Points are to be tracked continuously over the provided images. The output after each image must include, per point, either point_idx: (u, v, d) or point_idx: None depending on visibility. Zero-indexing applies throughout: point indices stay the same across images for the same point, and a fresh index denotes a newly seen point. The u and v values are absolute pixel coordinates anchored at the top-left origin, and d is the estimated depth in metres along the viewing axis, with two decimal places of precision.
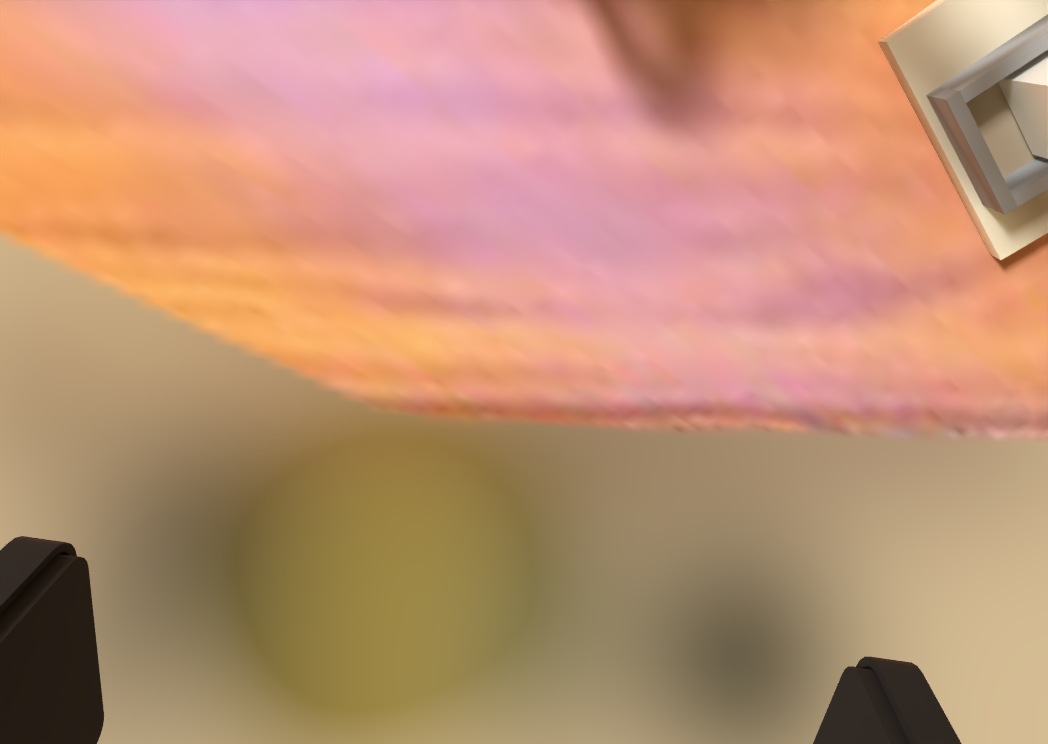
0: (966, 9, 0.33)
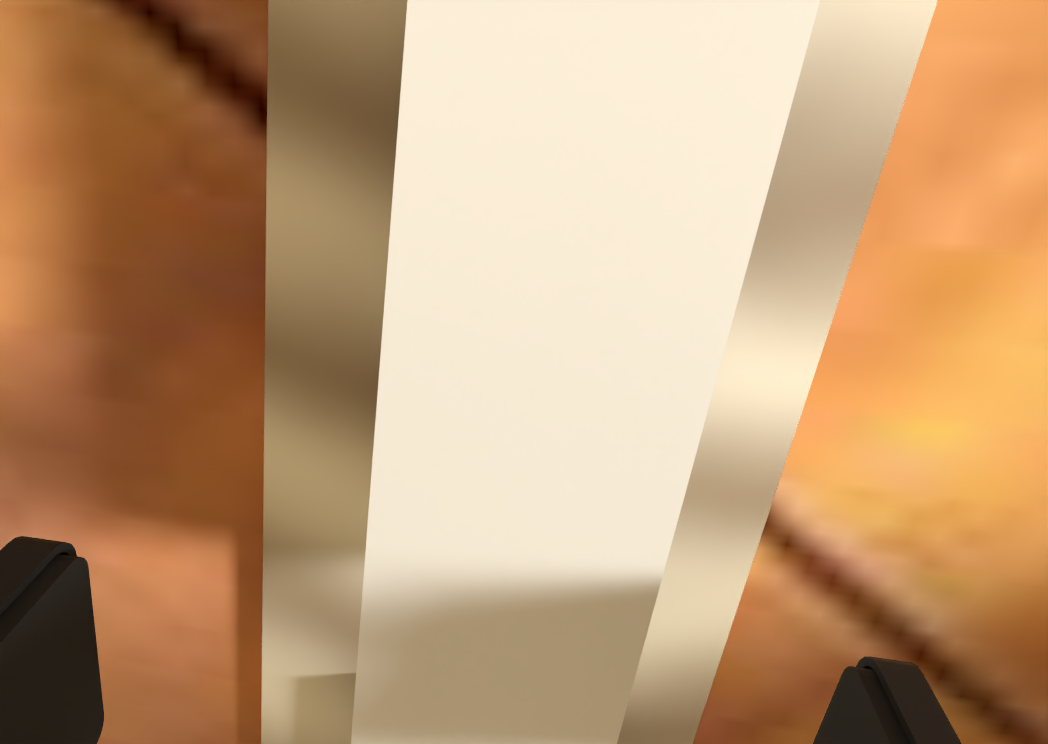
0: None
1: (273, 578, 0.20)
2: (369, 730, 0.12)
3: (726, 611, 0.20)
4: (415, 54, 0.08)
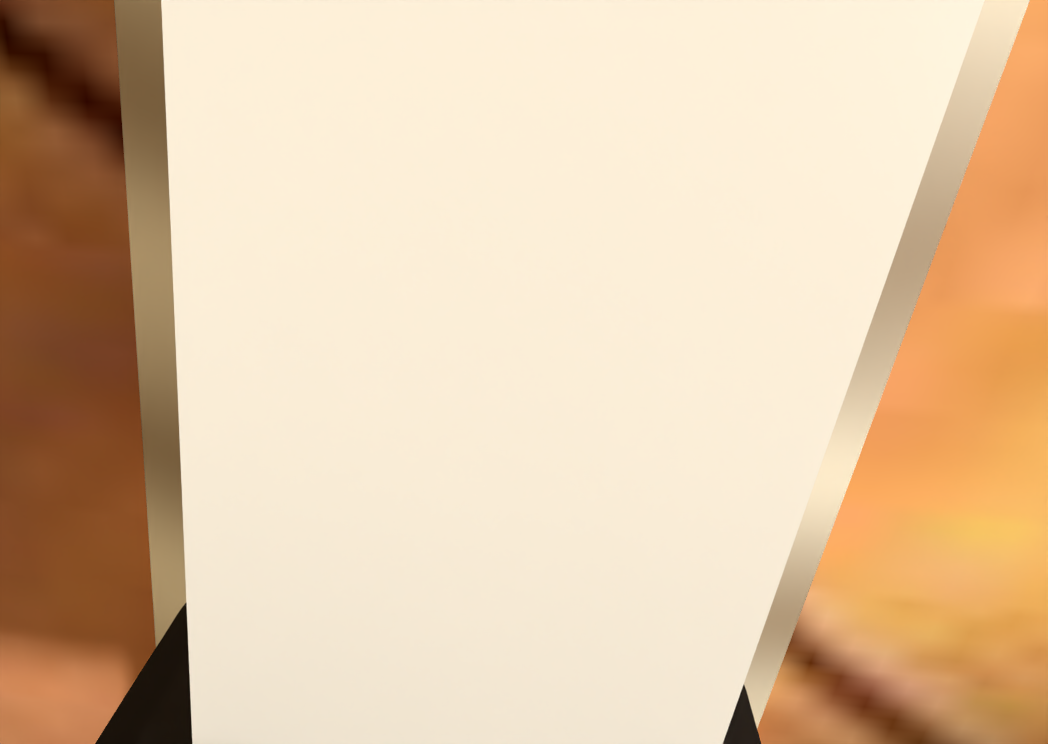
0: None
1: None
2: None
3: None
4: (188, 76, 0.04)
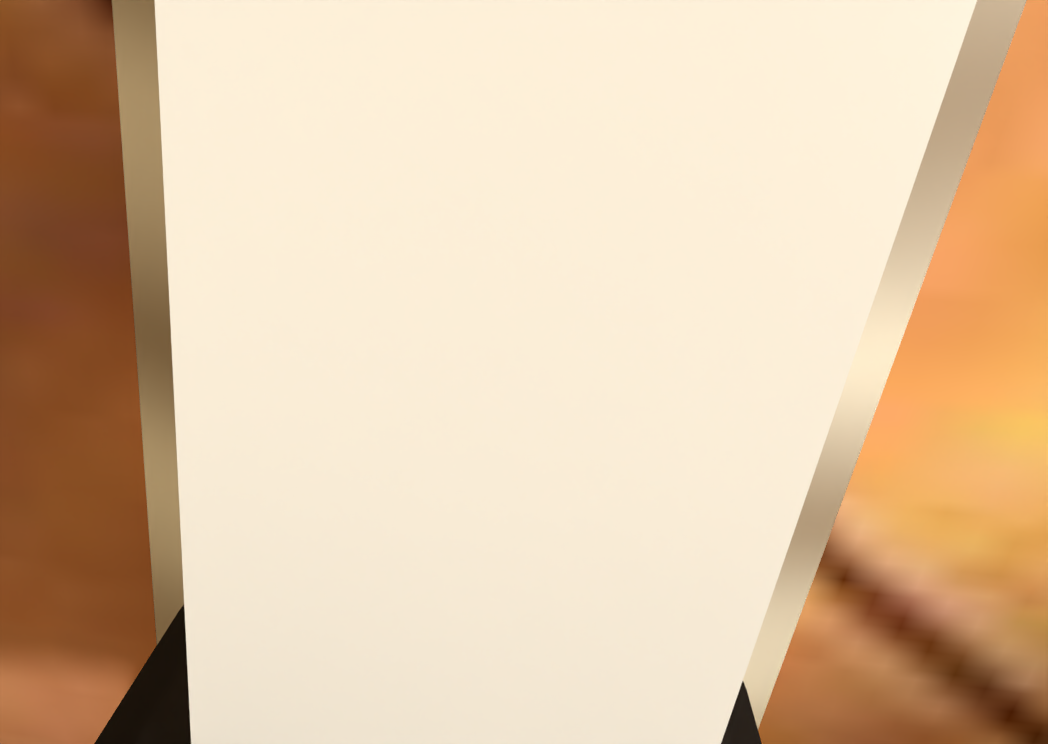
0: None
1: None
2: None
3: (767, 669, 0.15)
4: (182, 76, 0.04)
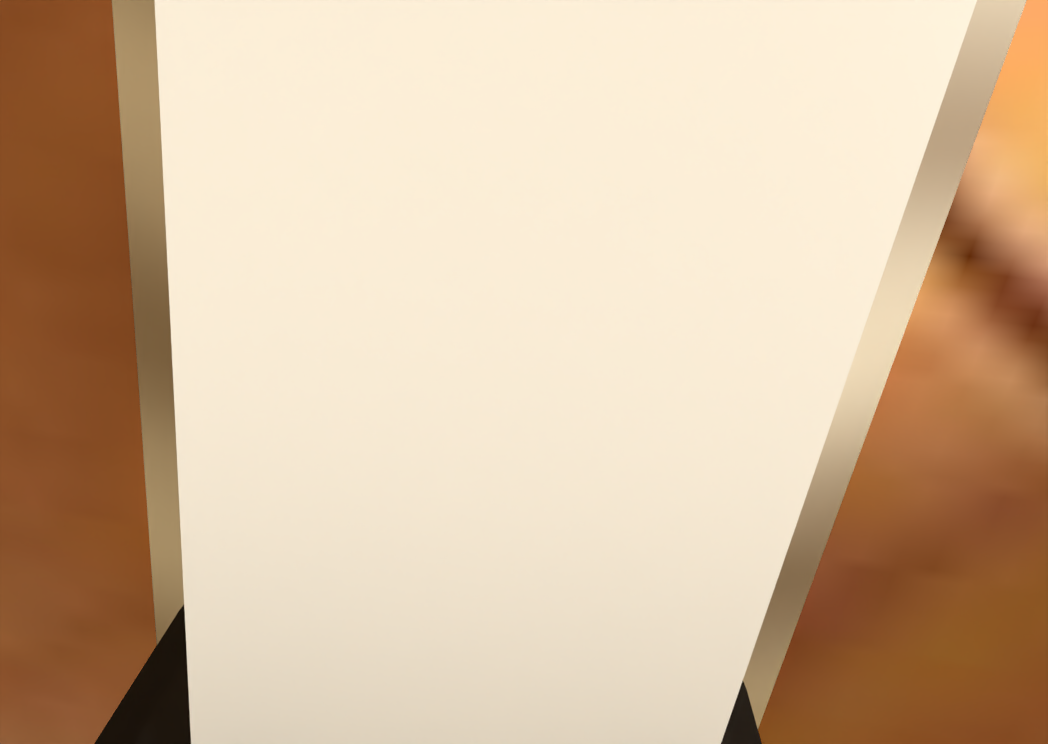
0: None
1: (151, 320, 0.13)
2: None
3: (879, 356, 0.12)
4: (182, 76, 0.04)
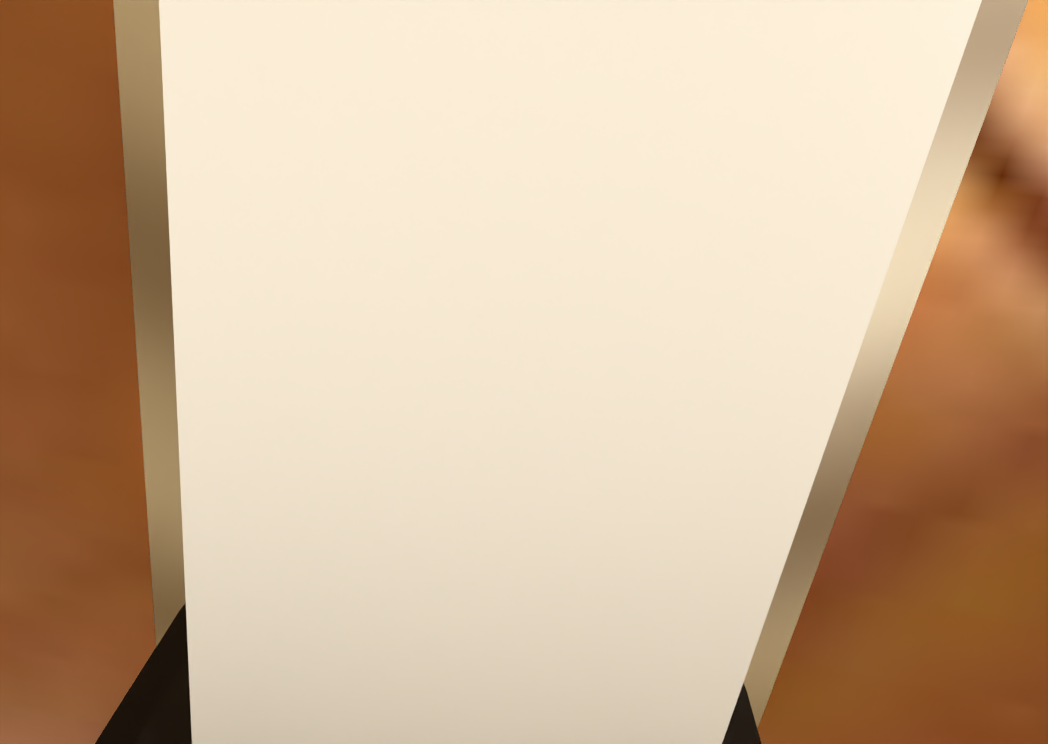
0: None
1: (147, 239, 0.12)
2: None
3: (908, 277, 0.12)
4: (186, 77, 0.04)
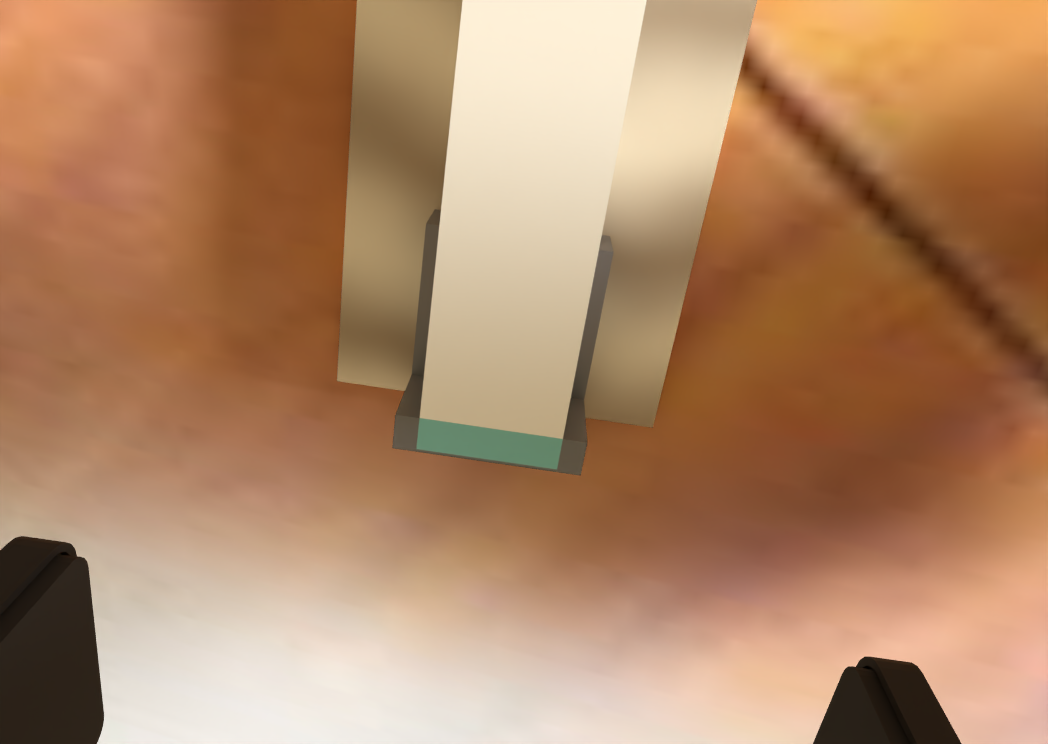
0: None
1: (359, 116, 0.26)
2: (430, 404, 0.22)
3: (717, 133, 0.25)
4: (466, 20, 0.18)
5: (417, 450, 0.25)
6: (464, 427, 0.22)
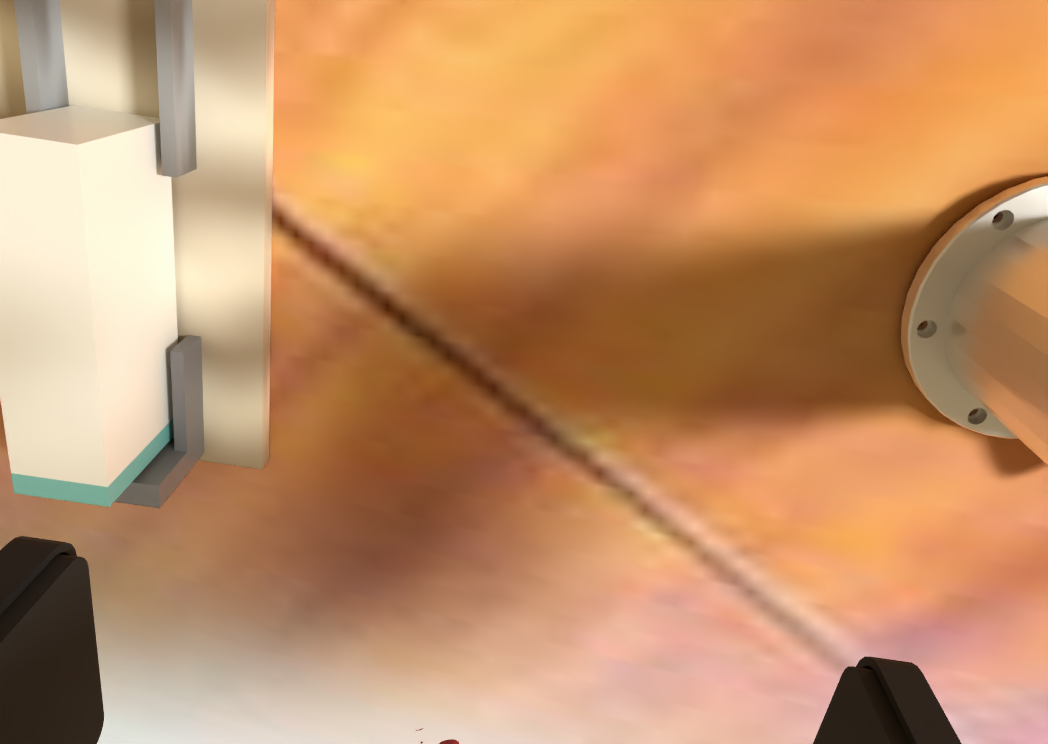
0: None
1: None
2: (16, 464, 0.33)
3: (259, 269, 0.36)
4: None
5: None
6: (42, 479, 0.33)
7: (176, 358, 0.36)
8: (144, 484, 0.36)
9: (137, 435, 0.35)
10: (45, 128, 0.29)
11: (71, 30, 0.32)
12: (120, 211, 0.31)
